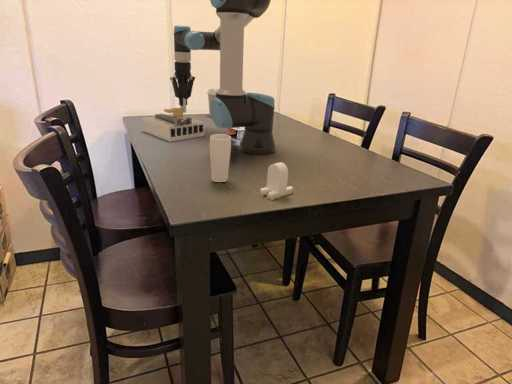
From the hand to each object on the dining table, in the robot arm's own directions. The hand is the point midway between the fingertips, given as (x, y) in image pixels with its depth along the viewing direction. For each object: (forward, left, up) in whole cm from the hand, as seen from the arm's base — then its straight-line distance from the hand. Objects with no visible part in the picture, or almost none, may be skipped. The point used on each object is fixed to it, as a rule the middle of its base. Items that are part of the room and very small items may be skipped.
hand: (183, 112), depth 188 cm
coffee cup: (+14, -32, -8) cm, 36 cm away
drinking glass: (-67, +33, -8) cm, 75 cm away
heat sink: (-7, +11, -8) cm, 15 cm away
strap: (-7, +12, -2) cm, 14 cm away
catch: (0, +6, -1) cm, 6 cm away
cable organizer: (-86, +26, -8) cm, 90 cm away
